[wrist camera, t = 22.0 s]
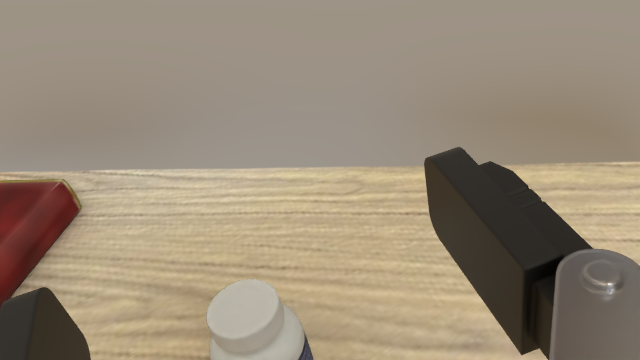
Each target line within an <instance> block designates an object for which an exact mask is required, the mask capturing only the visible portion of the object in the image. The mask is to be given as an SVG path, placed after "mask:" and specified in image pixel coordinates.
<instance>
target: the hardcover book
mask: <svg viewBox="0 0 640 360" xmlns="http://www.w3.org/2000/svg"><path fill="white" fill-rule="evenodd" d="M80 210H81V205H80V202H79V200H78V198H77V196H76V194H75V193H74V191H73V189H72V188H71V187H70V185H69V184H68V183H67V182H66V181H65V180H64V179H49V180H6V181H0V308H1V305H2V304H3V302H4V301H5V300H8V299H9V298H10V296H11V295H12V294H13V293H14V291H15V290H16V289H17V288H18V286H19V285H20V284H21V283H22V282H23V280H24V279H25V278H26V277H27V275H28V274H29V273H30V272H31V270H32V269H33V268H34V267H35V265H36V264H37V263H38V262H39V260H40V259H41V258H42V257H43V256H44V254H45V253H46V252H47V251H48V249H49V248H50V247H51V246H52V244H53V243H54V242H55V241H56V239H57V238H58V237H59V236H60V235H61V233H62V232H63V231H64V230H65V228H66V227H67V226H68V225H69V223H70V222H71V221H72V220H73V218H74V217H75V216H76V215H77V213H78V212H79V211H80Z"/></svg>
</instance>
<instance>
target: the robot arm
mask: <svg viewBox="0 0 640 360" xmlns="http://www.w3.org/2000/svg"><path fill="white" fill-rule="evenodd" d="M424 163H425V164H424V167H425V177H426V186H427V196H428V205H429V213H430V218H431V221H432V224H433V227H434V229H435V232H436V234H437V236H438V237H439V239H440V241H441V242H442V243H443V245H444V246H445V248H446V249H447V251H448V252H449V253H450V255H451V256H452V258H453V259H454V260H455V262H456V263H457V265H458V266H459V267H460V269H461V270H462V272H463V273H464V275H465V276H466V277H467V279H468V280H469V282H470V283H471V284H472V286H473V287H474V289H475V290H476V291H477V293H478V294H479V296H480V297H481V298H482V300H483V301H484V303H485V304H486V306H487V307H488V308H489V310H490V311H491V313H492V314H493V315H494V317H495V318H496V320H497V321H498V322H499V324H500V325H501V327H502V328H503V330H504V331H505V332H506V334H507V335H508V337H509V338H510V339H511V341H512V342H513V344H514V345H515V346H516V348H517V349H518V351H519V352H520V353H521V355H523V354H526V353H528V352H531V351H533V350H536V349H539V348H540V350H541V351H542V352H543V354H544V355H545V356H546V358H547V359H548V360H640V266H639V265H638V264H637V263H636V262H634V261H633V260H631V259H630V258H628V257H626V256H624V255H622V254H619V253H617V252H613V251H610V250H604V249H593V248H592V247H591V246H590V245H589V244H588V243H587V242H586V241H585V240H584V239H583V238H581V237H580V236H579V235H578V234H577V233H576V232H575V231H574V230H573V229H572V228H571V227H570V226H569V225H568V224H567V223H566V222H565V221H564V220H563V219H562V218H561V217H560V216H559V215H558V214H557V213H556V212H555V211H554V210H552V209H551V208H550V207H549V206H548V205H547V204H546V203H545V202H542V201H541V198H540V197H539V196H538V195H537V194H536V193H535V192H534V191H533V190H532V189H529V188H528V185H527V184H526V183H524V182H523V181H522V180H521V179H520V178H519V177H518V176H517V175H516V174H515V173H514V172H513V171H511V170H509V169H507V168H504V167H502V166H500V165H498V164H495V163H493V162H491V161H490V162H487V163H484V164H481V165H478V164H477V163H476V162H475V161H474V160H473V159H472V158H471V157H470V156H469V155H468V154H467V153H466V152H465V150H463V149H462V148H460V147H457V148H454V149H451V150H448V151H445V152H442V153H439V154H437V155H433V156H430V157H427V158H426V159H425V162H424ZM0 360H91V358H90V352H89V348H88V344H87V342H86V339H85V337H84V335H83V334H82V332H81V331H80V329H79V328H78V327H77V325H76V324H75V322H74V321H73V320H72V318H71V317H70V316H69V314H68V313H67V312H66V310H65V309H64V307H63V306H62V305H61V303H60V302H59V301H58V299H57V298H56V296H55V295H54V294H53V293H52V291H51V290H49V289H48V288H46V287H43V288H40V289H37V290H34V291H31V292H28V293H25V294H22V295H19V296H16V297H14V298H11V299H8V300H5V301H4V302H3V304H2V305H1V308H0Z"/></svg>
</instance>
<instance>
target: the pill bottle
mask: <svg viewBox="0 0 640 360" xmlns="http://www.w3.org/2000/svg"><path fill="white" fill-rule="evenodd" d="M206 320H207V324H208V327H209V329H210V332H211V334H212V337H211V340H210V346H209V354H210V359H211V360H314V359H313V356H312V353H311V350H310V347H309V344H308V341H307V338H306V335H305V332H304V329H303V326H302V324H301V321H300V319H299V318H298V316H297V314H296V313H295V312H294V311H293V310H292V309H291V308H290V307H288V306H287V305H285V304H283V303H281V301H280V298H279V296H278V293H277V291H276V290H275V288H274V287H273V286H272V285H270V284H269V283H267V282H265V281H263V280H258V279H246V280H241V281H237V282H234V283H232V284H230V285H228V286H227V287H225V288H224V289H222V290H221V291H220V292H219V293H218V294H217V295H216V296H215V297H214V298H213V300H212V301H211V303H210V304H209V307H208V309H207V314H206Z"/></svg>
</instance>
